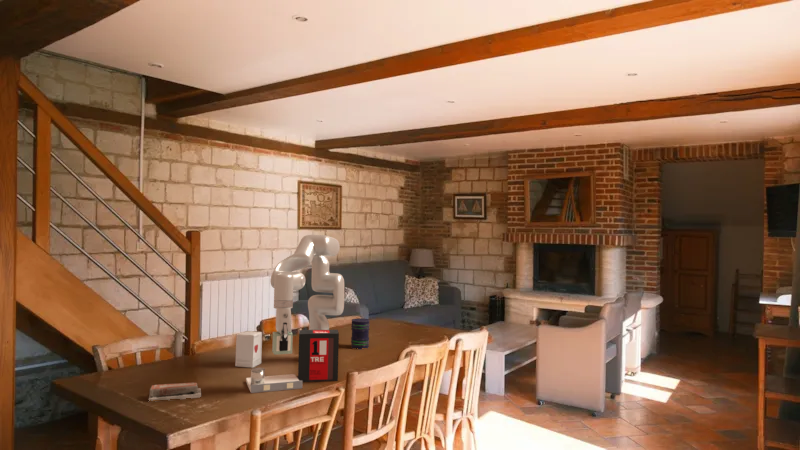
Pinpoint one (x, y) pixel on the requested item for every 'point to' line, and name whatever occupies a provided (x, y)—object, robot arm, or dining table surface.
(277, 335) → the tea box
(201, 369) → the dining table surface
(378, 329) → the dining table surface
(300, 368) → the cleaning product box
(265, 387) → the board
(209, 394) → the dining table surface
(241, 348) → the supplement box
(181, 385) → the notched trowel
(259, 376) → the clear glass cup
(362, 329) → the storage jar
